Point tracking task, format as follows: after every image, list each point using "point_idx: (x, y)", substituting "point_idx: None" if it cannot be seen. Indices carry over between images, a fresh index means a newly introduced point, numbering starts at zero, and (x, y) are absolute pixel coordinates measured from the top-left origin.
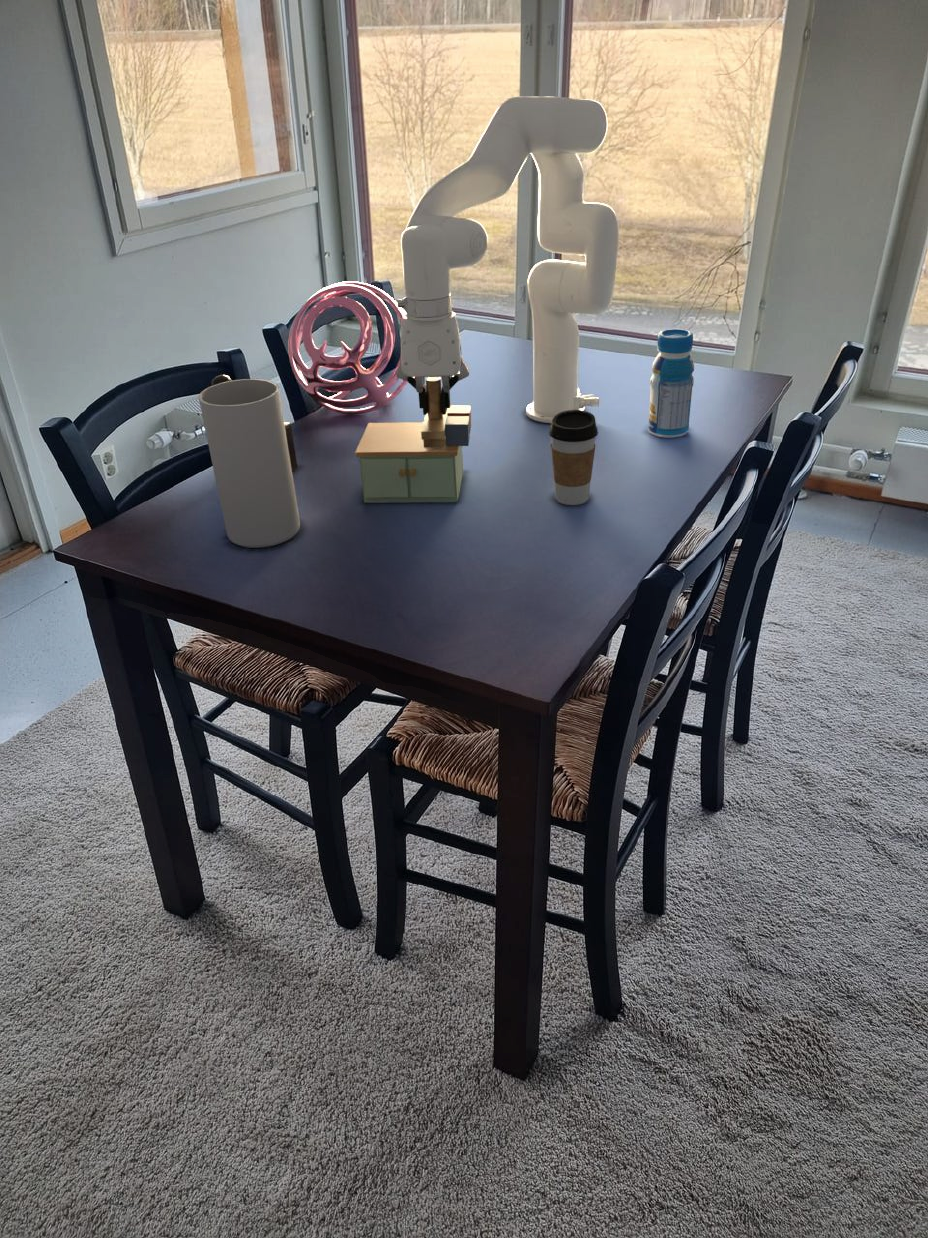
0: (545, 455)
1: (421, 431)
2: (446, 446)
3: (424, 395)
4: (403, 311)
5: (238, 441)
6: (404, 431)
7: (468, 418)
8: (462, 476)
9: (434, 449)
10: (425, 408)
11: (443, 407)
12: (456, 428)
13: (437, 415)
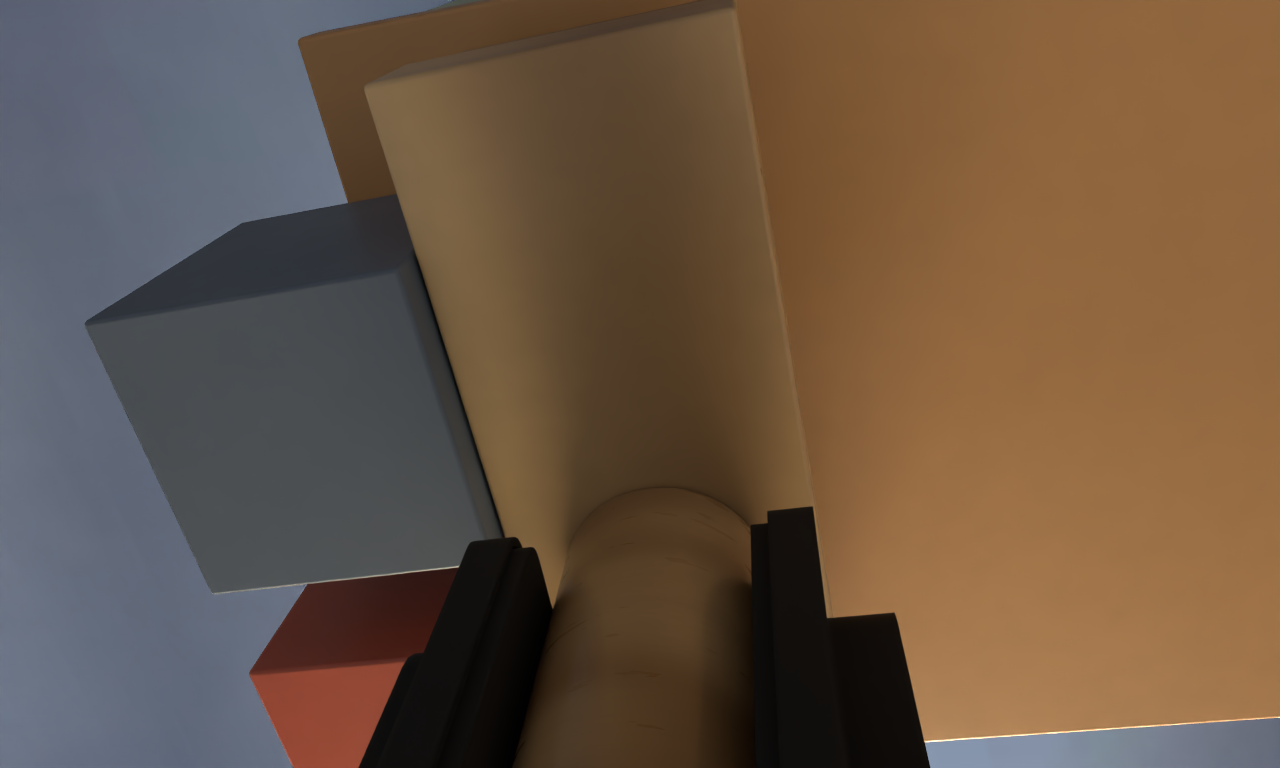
0: (205, 727)
1: (725, 6)
2: None
3: (783, 735)
4: None
5: None
6: (1084, 523)
7: (183, 522)
8: None
9: None
10: (772, 560)
11: (466, 597)
12: (263, 270)
13: (603, 529)
